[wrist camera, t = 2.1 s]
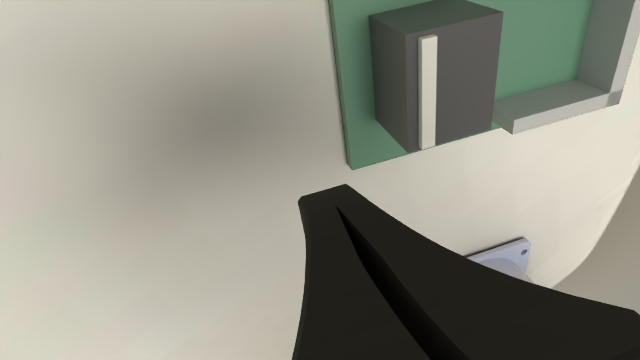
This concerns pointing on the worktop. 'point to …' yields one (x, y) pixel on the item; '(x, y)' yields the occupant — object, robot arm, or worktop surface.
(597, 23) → the header board
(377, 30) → the plug block
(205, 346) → the worktop surface
